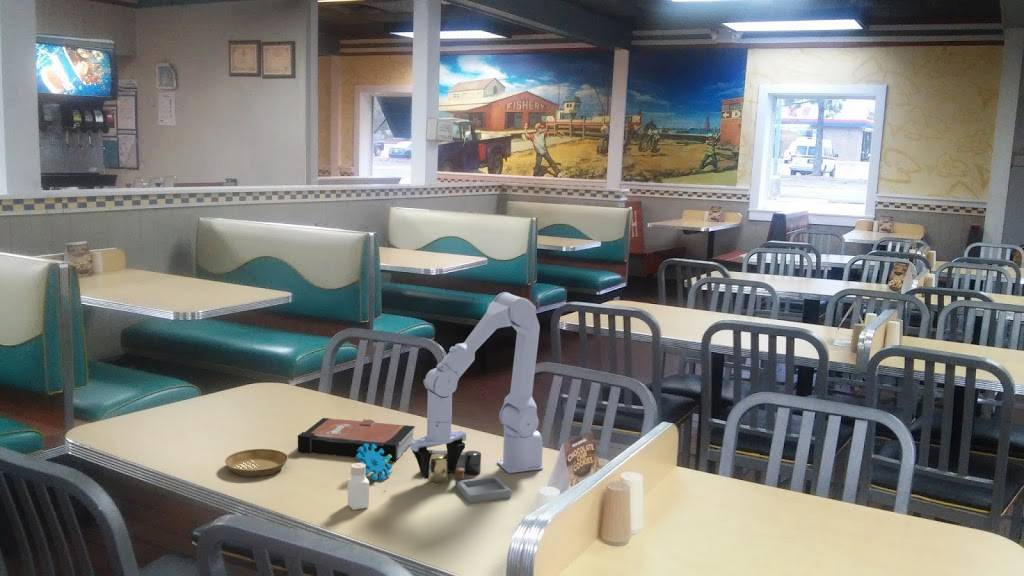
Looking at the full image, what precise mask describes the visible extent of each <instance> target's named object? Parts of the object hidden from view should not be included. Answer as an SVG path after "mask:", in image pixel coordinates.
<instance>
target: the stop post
mask: <svg viewBox="0 0 1024 576" xmlns="http://www.w3.org/2000/svg"><path fill="white" fill-rule="evenodd" d="M455 471H456V472H455V482H454V483H455V484H454V485H455V487H456V488H457V481H461V480H465V472H464V471H465V469H464V468H456V469H455Z"/></svg>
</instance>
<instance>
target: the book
mask: <svg viewBox="0 0 1024 576" xmlns="http://www.w3.org/2000/svg"><path fill="white" fill-rule="evenodd" d="M415 429H416V426H415V425H405V424H396V423H384V422H382V423H381V422H376V421H375V420H372V419H363V420H362V421H361V420H351V419H339V418H329V417H328V418H327V417H323V418H321V419H319V420H318V421H317V422H316V423H315V424H314V425H312V426H311V427H309V428H307V430H305V431H302V432H301V433H299V434H298V435H297V453H298V452H300V453H299V454H306V453H308V454H307V455H310V454H314V453H316V454H315V455H324V454H325V455H326V456H334V455H336V457H344V458H345V457H347V458H353V459H354V458H355V459H356V455H357V454H358V453H360V452H358V451H357V449H358V448H359V447H361V446H362V447H363V445H364V444H365V443H367V444H369V447H368V450H369V451H371V447H370V446H371V445H372V444H375V445H376V446H377V448H376V449H375V450H374V451H375V452H378V451H379V450H380V449H383V450H384V453H383V454H382V455H381V456H383V457H386V456H388V455H389V454H390V455H391V456H392V458H390V461H389V462H388V463H397V462H398V461H399V460H400V458H401V457H402V456H403V455H404V454H405V453H406V451H408V449H410V448H411V441H415V439H414V431H415ZM364 452H365V449H364ZM404 452H405V453H404ZM403 453H404V454H403ZM360 454H361V453H360ZM361 455H362V454H361ZM362 457H363V456H362ZM397 460H398V461H397ZM396 461H397V462H396Z"/></svg>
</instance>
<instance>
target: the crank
mask: <svg viewBox="0 0 1024 576" xmlns="http://www.w3.org/2000/svg"><path fill="white" fill-rule="evenodd" d="M427 450H428V452H430V453H432V455H433V454H444V455H447V450H433V449H427ZM447 456H448V455H447ZM481 467H482V453H481V452H480V451H479V450H478V451H477V450H466V451H462V453H461V455H460V457H459V459H458V462H457V465H456V468H464V469H465V471H464V474H465V473H466V474H469V475H476V474H480V473H481V471H482V469H481ZM448 472H451V471H450V470H448ZM451 473H452V472H451ZM454 473H456V471H455V472H454Z"/></svg>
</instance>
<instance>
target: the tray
mask: <svg viewBox="0 0 1024 576" xmlns="http://www.w3.org/2000/svg"><path fill="white" fill-rule="evenodd" d="M456 489H457V491H459V493H460V494H462V496H463V497H464V498H465V499H466V501H467V502H468V503H469V502H470V503H469V504H472V503H473V504H474V503H481V502H488V501H496V500H503V499H509V498H512V489H511V488H509V486H507V484H506V483H504V481H502V480H501V479H500V477H498V476H497V475H493V476H486V477H477V478H470V479H469V478H468V479H464V480H461V481H457V487H456Z"/></svg>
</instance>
